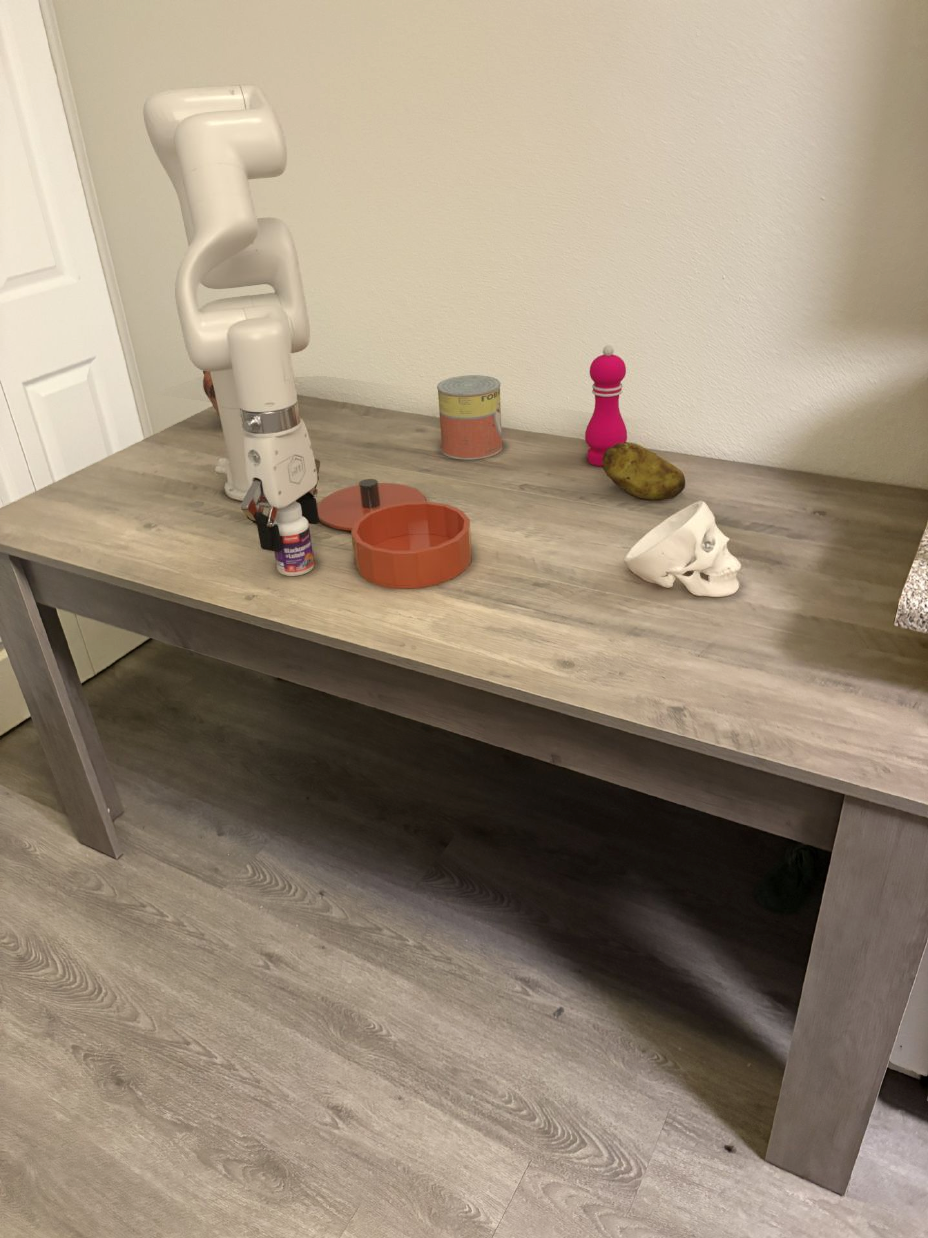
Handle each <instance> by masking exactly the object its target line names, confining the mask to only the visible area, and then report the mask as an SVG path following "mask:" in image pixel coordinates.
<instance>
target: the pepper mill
mask: <svg viewBox="0 0 928 1238" xmlns="http://www.w3.org/2000/svg"><path fill="white" fill-rule="evenodd" d="M614 351H615V350H614V347H613V346H612V345H608V344H607V345H606V346H604V347H603V348H602V354H601V355H599V356H597V357H595V358H594V359H593V360H592V362H591V363H590V366H589V377H590V379H591V381H592V382H593V384H592V385H591V388H592V391H591V393H592V394H593V395H594V408H593V413H592V415H591V418H590V420H589V422H587V423H588V424H587V425H586V430H585V433H584V441H585V443H586V445H587V446H588V447H589V448H588V450H587V456H586V457H587V462H588V463H589V464H591V465H593V466H596V467H603V464H602V457H603V455H604V453H605V452H606V451H607V450H608V449H609V448H610V447H612V446H614V445H616V444H617V443H624V442H627V440H628V431H627V427H626V424H625V421H624V419H623V417H622V414H621V411H620V395H621V394H622V393H623V384H622V381H623V380H624V379H625V377H626V374H627V366H626V363H625V361H624V359H622V357H620V356H619V355H616V354H614V353H615V352H614Z"/></svg>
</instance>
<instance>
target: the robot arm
mask: <svg viewBox="0 0 928 1238" xmlns="http://www.w3.org/2000/svg"><path fill="white" fill-rule="evenodd" d="M142 109H143V110H142V111H143V112H142V113H143V120H144V125H145V129H146V132H147V136H148V139H149V141H150V143H151V144H150V145H151V147H152V148H153V150H154V153H155V155H156V156H157V158H158V161H159V162H160V164H161V167H162V168H163V169H164V171H165V172H166V175H167V176H168V178H169V180H170V181H171V183H172V186H173V188H174V190H175V192H176V195H177V198H178V202H179V207H180V211H181V216H182V221H183V226H184V231H185V235H186V240H187V245H188V248H187V249H186V251H185V253H184V255H183V257H182V258H181V261H180V263H179V266H178V269H177V271H176V277H175V284H174V298H175V306H176V310H177V315H178V318H179V319H178V320H179V324H180V328H181V333H182V338H183V341H184V346H185V350H186V352H187V356H188V358H189V360H190V361H191V363H192V365H194V367H196V369H198V370H200V371H202V372H203V371H208V372H210V373H211V378H212V382H213V386H214V390H215V395H216V400H217V405H218V410H219V415H220V417H219V419H220V425H221V431H222V434H223V435H222V436H223V440H224V446H225V451H226V455H227V457H220V458H218V461H217V465H216V466H215V468H214V469H215V470H214V471H215V473H216V474H221V475H226V479H227V481H226V482H225V484H224V492H225V495H226V496H227V497H228V498H230V499H232V500H235V501H241V503H240V509H241V511H242V512H243V513H244V515H245V516H246V519H248V520H249V521H250V522H252V524H253V525H254V526H255V525H256V528H257V534H258V539H259V545H260V548H261V549H262V550H265V551H269V552H273V553H274V552H280V551H281V550H282V544H281V539H280V533H279V527H278V524H274V522H275V518H276V513H277V509H282V508H285V507H286V506H288V505H290V504H291V503H293V502H294V501H295V502H298V503H300V505H301V510H302V516H303V517H305V518H306V519H307V520H308V523H309V525H314V526H315V525H316V526H317V525H318V524H319V523H320V520H319V516H318V510H317V506H318V504H317V499H316V497H318V489H317V487H318V484H319V480H320V477H319V473H320V467H321V461H320V460H319V459H317V458H315V455H314V451H313V446H312V442H311V438H310V435H309V432H308V429H307V426H306V424H305V421H304V419H303V418H301V413H300V407H299V401H298V395H297V388H296V382H295V375H294V369H293V362H292V355H291V354H295V353H300V352H302V351H304V350H305V349H307V347H308V346H309V343H310V341H311V327H310V320H309V314H308V308H307V307H308V306H307V303H306V297H305V292H304V291H305V290H304V285H303V280H302V279H303V278H302V273H301V268H300V263H299V257H298V252H297V248H296V247H297V246H296V243H295V239H294V237H293V235H292V232H291V229H290V228H289V226H288V225H287V224H286V222H284V221H283V220H281V219H279V218H276V217H257V213H256V212H257V211H256V208H255V203H254V201H253V200H254V199H253V195H252V192H251V187H250V183H249V181H250V180H258V179H259V180H260V179H271V178H277V177H280V176H282V175H283V174H284V172H285V171H286V168H287V164H288V148H287V142H286V138H285V137H286V136H285V133H284V130H283V127H282V125H281V122H280V119H279V117H278V114H277V113H276V110H275V108H274V107H273V106H272V104H271V102H270V100H269V98H268V97H267V95H266V93H265V92H264V91H263V89H261V88H260V87H259V86H256V85H254V84H230V85H229V84H228V85H215V86H214V85H213V86H192V87H179V88H178V87H177V88H172V89H166V90H162V91H159V92H156V93H154V94H152V95H150V96H149V97H148V98H147V99H146V100H145V102H144V103H143V108H142ZM200 284H201V285H202V286H203V287H205V288H207V289H212V290H225V289H236V288H245V287H254V286H261V285H268V286H270V287H272V289H273V291H274V292H267V293H259V294H251V295H249V294H247V295H241V296H233V297H225V298H220V299H215V300H212V301H209V302H207V303H205V304H204V305H202V306H201V307H200V308H199V305H198V296H197V294H198V293H197V292H198V289H199V285H200ZM219 415H218V416H219ZM265 508H266V509H268V510H267V515H265V514H264V510H265Z"/></svg>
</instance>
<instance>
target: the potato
mask: <svg viewBox="0 0 928 1238" xmlns="http://www.w3.org/2000/svg"><path fill="white" fill-rule="evenodd" d="M602 464H603V471H604V473H605V474H606V476H607V477H608V478H609V479H610V480H611V481H612V482H613V484H615V485H616V486H617V487H619V488H622V489H623V490H625V491H626V492H627V493H629V494H630V495H632V496H634V497H636V498H638V499H644V500H666V499H669V498H674V497H676V496H678V495H679V494H681V493H682V492H683V491H684V490H685V488H686V477H685V474H684V473H683V471H682V470H681V469H679V468H678V467H677V466H675V465H674V464H673V463H671V462H669V461H668V460H666V459H664V458H662V457H660V456H659V455H657V454H656V453H654V452H652V451H650V450H649V449H647V448H645V447H644V446H642V445H640V444H638V443H636V442H635V443H634V442H627V441H626V442H624V443H617V444H616V445H614V446H612V447H610V448H609V449H608V450H607V451H606V452H605V453H604V455H603V457H602Z"/></svg>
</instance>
